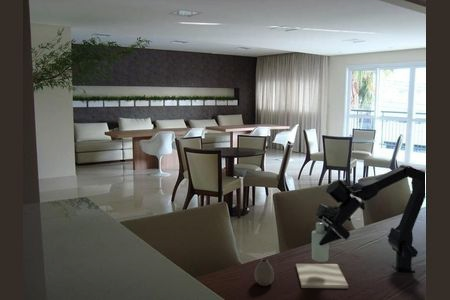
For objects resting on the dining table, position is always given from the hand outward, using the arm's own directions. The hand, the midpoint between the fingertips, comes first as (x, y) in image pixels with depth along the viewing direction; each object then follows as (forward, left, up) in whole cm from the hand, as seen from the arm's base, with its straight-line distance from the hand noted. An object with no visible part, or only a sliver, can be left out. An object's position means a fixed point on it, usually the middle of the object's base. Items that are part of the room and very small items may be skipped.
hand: (316, 241), depth 148 cm
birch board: (0, -1, -13) cm, 14 cm away
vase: (-6, +20, -14) cm, 25 cm away
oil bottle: (0, -1, -7) cm, 7 cm away
